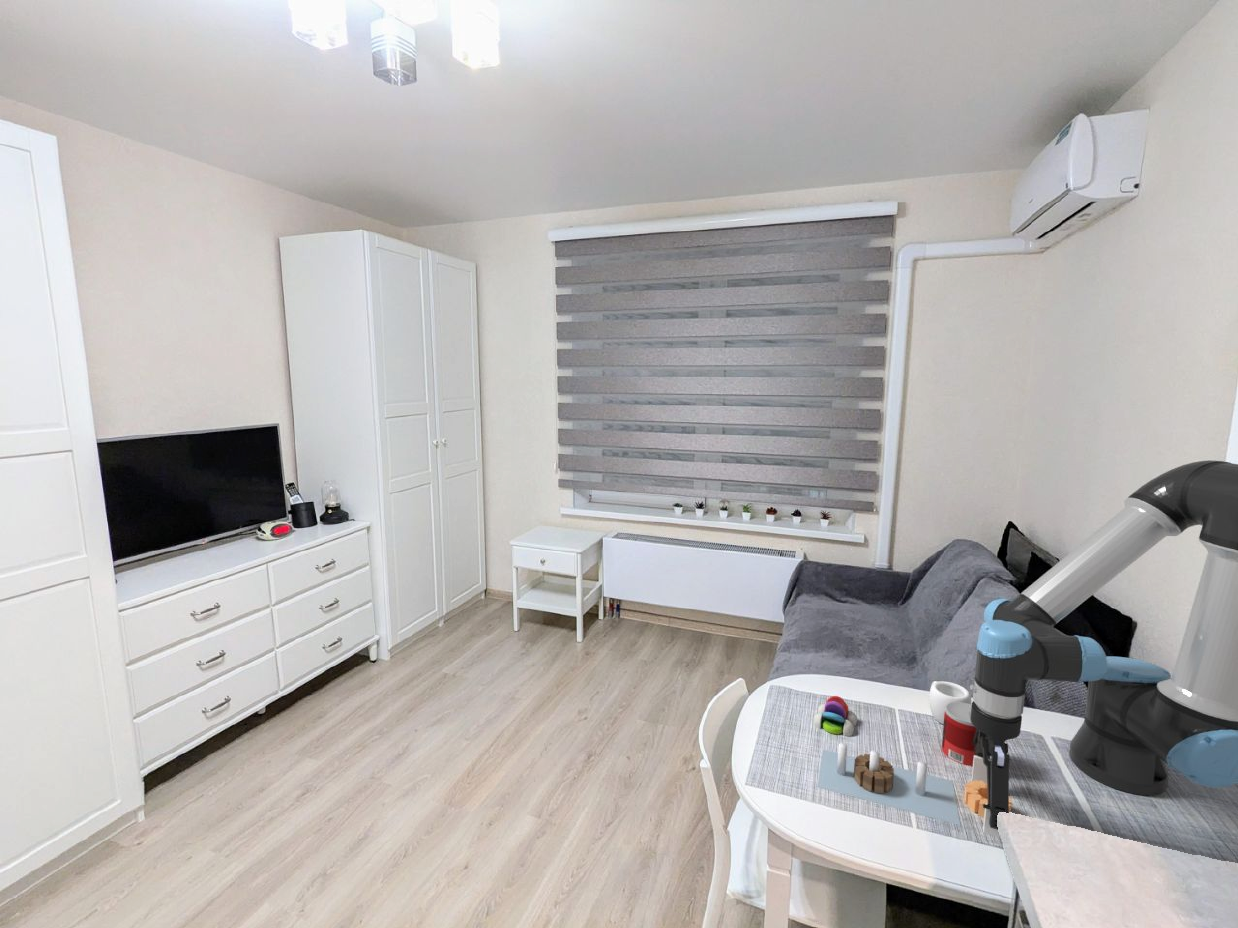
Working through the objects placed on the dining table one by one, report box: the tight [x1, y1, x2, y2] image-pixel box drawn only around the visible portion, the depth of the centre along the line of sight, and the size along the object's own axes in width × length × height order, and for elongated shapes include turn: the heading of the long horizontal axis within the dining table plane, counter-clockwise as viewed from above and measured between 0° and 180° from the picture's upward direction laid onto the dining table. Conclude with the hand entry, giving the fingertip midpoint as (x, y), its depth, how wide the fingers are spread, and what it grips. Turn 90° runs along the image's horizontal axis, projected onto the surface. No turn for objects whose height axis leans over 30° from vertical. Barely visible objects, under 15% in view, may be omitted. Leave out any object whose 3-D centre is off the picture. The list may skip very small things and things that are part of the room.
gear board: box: [817, 742, 962, 826], centre depth 111 cm, size 24×12×8 cm, turn 66°
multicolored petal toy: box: [812, 695, 858, 737], centre depth 130 cm, size 8×10×7 cm
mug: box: [928, 680, 972, 725], centre depth 134 cm, size 12×8×8 cm
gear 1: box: [854, 753, 894, 793], centre depth 112 cm, size 7×7×3 cm
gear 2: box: [964, 780, 1013, 819], centre depth 105 cm, size 7×7×4 cm
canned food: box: [941, 702, 977, 767], centre depth 119 cm, size 8×8×11 cm
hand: (984, 812), depth 105 cm, fingers open, 13 cm apart
